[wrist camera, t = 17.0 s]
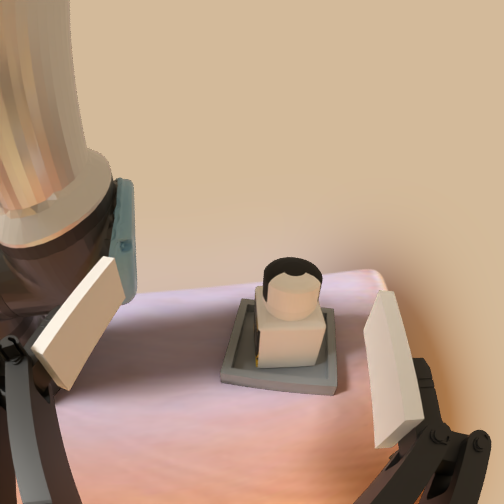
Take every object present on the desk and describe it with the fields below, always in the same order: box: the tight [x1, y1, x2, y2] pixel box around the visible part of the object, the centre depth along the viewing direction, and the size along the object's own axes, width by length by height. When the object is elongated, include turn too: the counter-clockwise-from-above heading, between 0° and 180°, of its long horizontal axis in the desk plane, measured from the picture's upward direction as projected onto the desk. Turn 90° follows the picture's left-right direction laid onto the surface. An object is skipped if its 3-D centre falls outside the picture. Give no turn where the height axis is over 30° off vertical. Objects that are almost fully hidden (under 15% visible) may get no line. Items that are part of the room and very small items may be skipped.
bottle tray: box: [220, 299, 337, 396], centre depth 36 cm, size 13×13×2 cm
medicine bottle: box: [254, 257, 326, 368], centre depth 33 cm, size 7×7×12 cm
